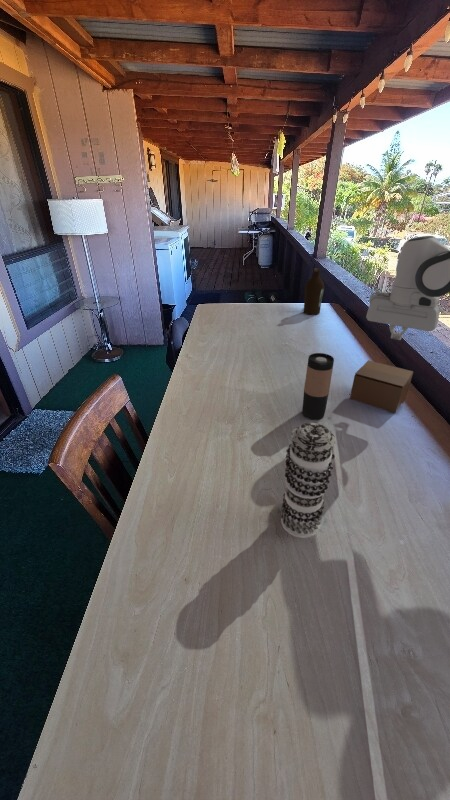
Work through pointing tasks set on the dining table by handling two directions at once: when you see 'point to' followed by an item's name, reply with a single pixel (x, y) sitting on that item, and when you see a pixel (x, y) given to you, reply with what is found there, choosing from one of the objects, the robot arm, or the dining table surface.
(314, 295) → the olive oil
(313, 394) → the travel mug
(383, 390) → the carton
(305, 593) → the dining table surface
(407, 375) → the flap
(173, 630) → the dining table surface
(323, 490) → the decorative candle
